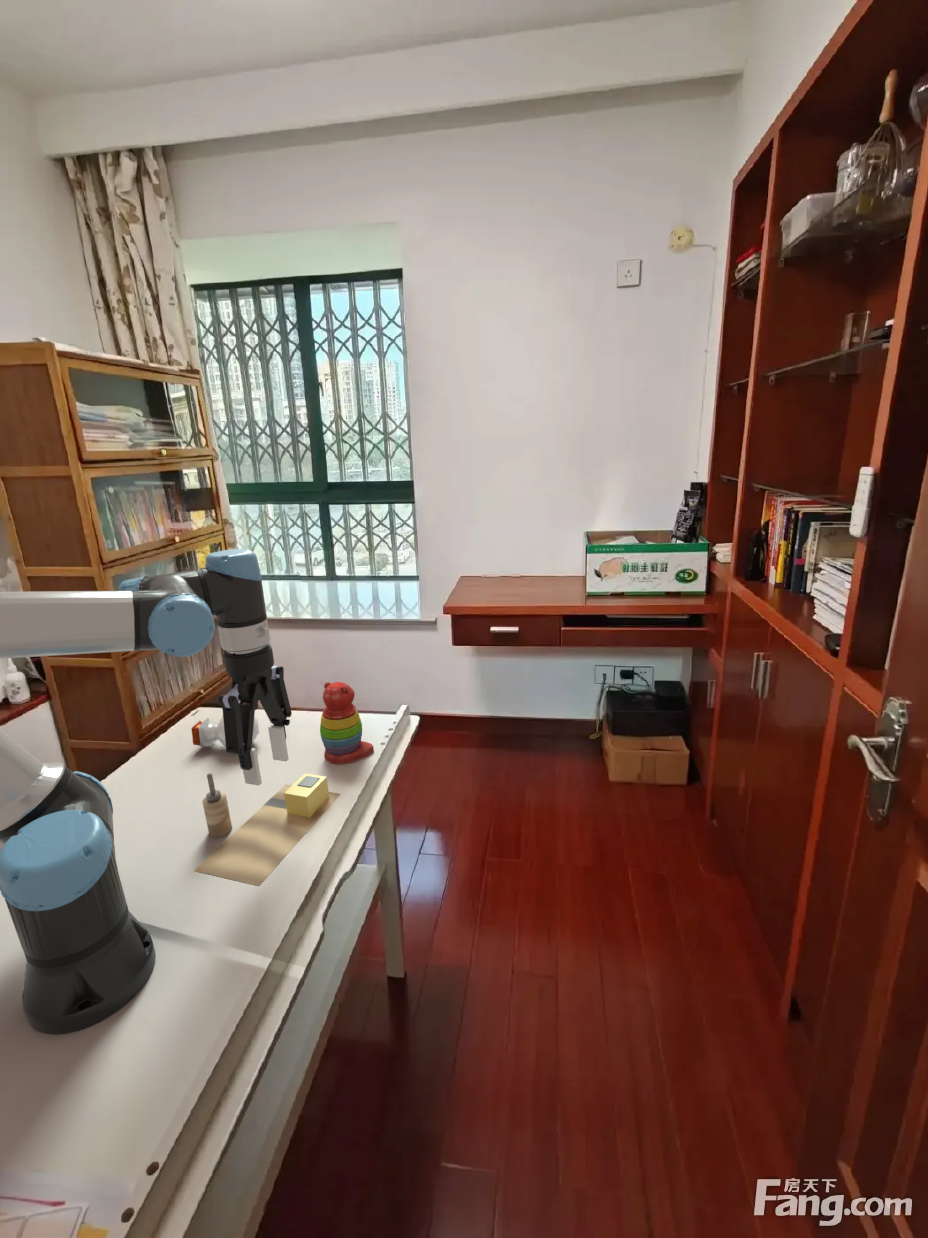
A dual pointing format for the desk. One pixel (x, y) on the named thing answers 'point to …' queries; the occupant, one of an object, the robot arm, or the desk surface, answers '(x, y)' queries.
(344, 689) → the stacking bear
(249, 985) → the desk surface
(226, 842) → the board
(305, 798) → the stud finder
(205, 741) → the potion bottle
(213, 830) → the awl
